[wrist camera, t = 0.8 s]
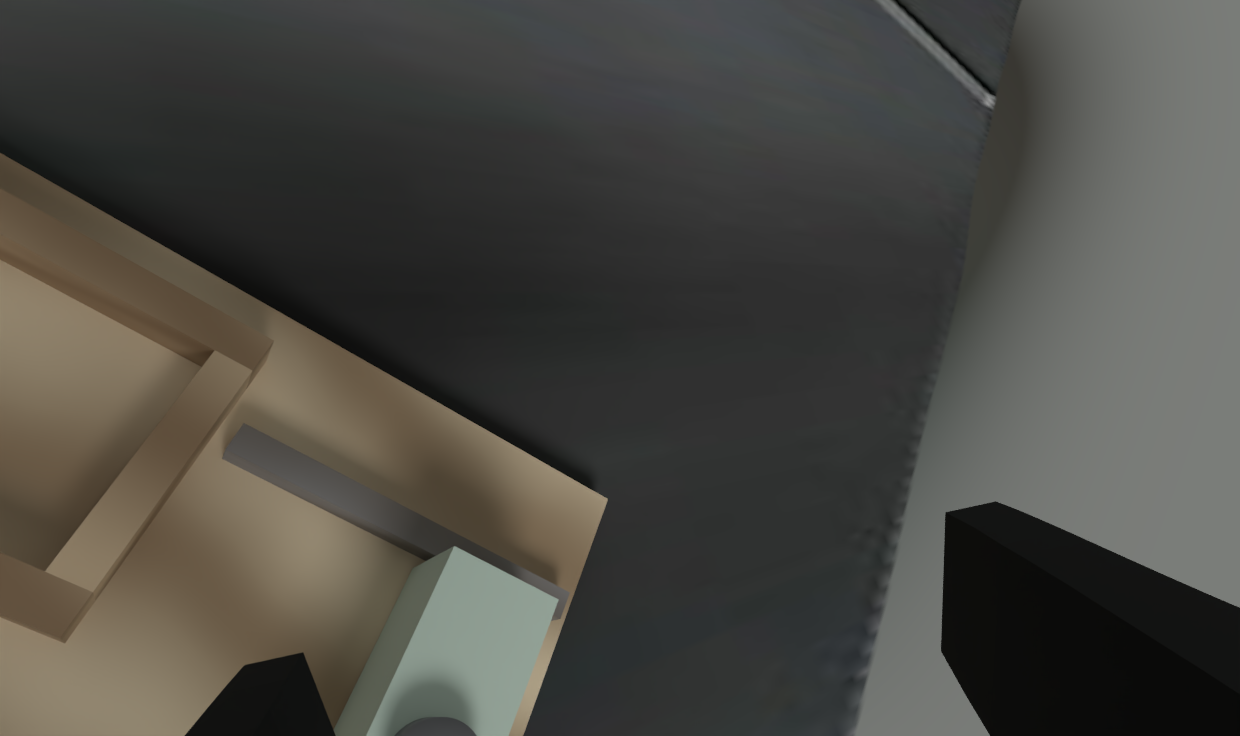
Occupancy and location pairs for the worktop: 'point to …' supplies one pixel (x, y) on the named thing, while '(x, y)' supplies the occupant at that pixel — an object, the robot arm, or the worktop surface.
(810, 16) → the worktop surface
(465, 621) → the slider bar
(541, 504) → the oak jig
